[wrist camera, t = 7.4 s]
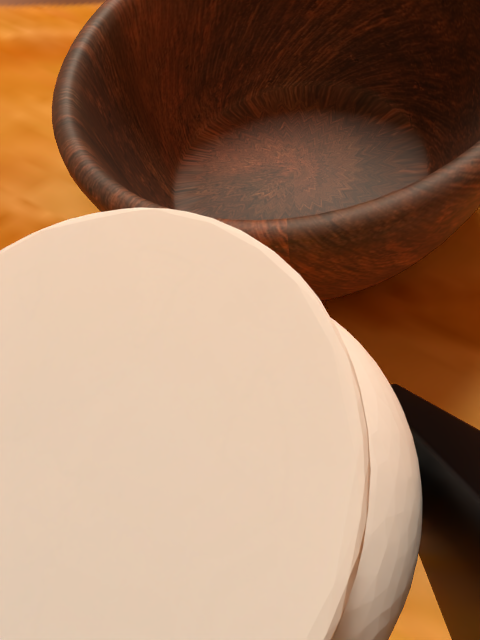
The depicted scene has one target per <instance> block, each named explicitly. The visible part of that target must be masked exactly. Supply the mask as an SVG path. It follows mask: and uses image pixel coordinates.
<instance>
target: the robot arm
mask: <svg viewBox="0 0 480 640" xmlns="http://www.w3.org/2000/svg"><path fill="white" fill-rule="evenodd" d="M390 385H391V387H392V389H393V391H394V393H395V394H396V396H397V398H398V401H399V403H400V405H401V407H402V409H403V411H404V414H405V417H406V420H407V422H408V425H409V428H410V431H411V434H412V436H413V441H414V445H415V449H416V453H417V457H418V462H419V470H420V478H421V486H422V530H421V541H420V546H419V552H418V553H419V556H420V558H421V561H422V564H423V566H424V569H425V571H426V574H427V577H428V579H429V582H430V584H431V587H432V589H433V592H434V595H435V597H436V600H437V602H438V605H439V608H440V610H441V613H442V615H443V618H444V620H445V623H446V626H447V628H448V631H449V633H450V636H451V639H452V640H480V430H478V429H476V428H475V427H473V426H471V425H469V424H467V423H466V422H464V421H462V420H460V419H458V418H457V417H455V416H453V415H451V414H449V413H448V412H446V411H444V410H442V409H440V408H439V407H437V406H435V405H433V404H431V403H430V402H428V401H426V400H424V399H422V398H421V397H419V396H417V395H415V394H414V393H412V392H410V391H408V390H406V389H405V388H403V387H401V386H399V385H397V384H390Z"/></svg>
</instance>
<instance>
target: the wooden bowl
mask: <svg viewBox="0 0 480 640" xmlns="http://www.w3.org/2000/svg"><path fill="white" fill-rule="evenodd" d="M52 124H53V130H54V136H55V139H56V143H57V146H58V149H59V152H60V154H61V157H62V159H63V161H64V163H65V165H66V167H67V169H68V171H69V173H70V175H71V177H72V178H73V180H74V181H75V182H76V184H77V185H78V187H79V188H80V189H81V191H82V192H83V193H84V194H85V195H86V196H87V197H88V198H89V199H90V200H91V202H92V203H93V204H94V205H95V206H96V207H97V208H98V209H99V210H100V211H101V212H105V211H112V210H118V209H128V208H165V209H173V210H180V211H186V212H191V213H194V214H198V215H202V216H206V217H210V218H213V219H216V220H218V221H220V222H223V223H225V224H227V225H230V226H232V227H234V228H237V229H239V230H241V231H243V232H245V233H246V234H248V235H249V236H251V237H253V238H254V239H256V240H257V241H259V242H261V243H262V244H264V245H265V246H267V247H268V248H270V249H271V250H273V251H274V252H275V253H276V254H278V255H279V256H280V257H281V258H282V259H283V260H284V261H285V262H286V263H287V264H288V265H290V266H291V267H292V268H293V269H294V270H295V271H296V272H297V273H298V274H299V275H301V277H302V278H303V279H304V280H305V282H306V283H307V284H308V285H309V287H310V288H311V289H312V290H313V292H314V293H315V294H316V295H317V296H318V298H319V299H320V301H323V300H328V299H333V298H337V297H341V296H344V295H348V294H351V293H355V292H358V291H361V290H363V289H366V288H368V287H371V286H374V285H376V284H379V283H381V282H383V281H385V280H387V279H389V278H391V277H393V276H395V275H397V274H399V273H400V272H402V271H404V270H405V269H407V268H409V267H410V266H412V265H413V264H415V263H416V262H418V261H419V260H421V259H422V258H423V257H425V256H426V255H428V254H429V253H430V252H431V251H433V250H434V249H435V248H437V247H438V246H439V245H441V244H442V243H443V242H444V241H445V240H446V239H447V238H448V237H450V236H451V235H452V234H453V233H454V232H455V231H456V230H457V229H458V228H459V227H460V226H461V225H462V224H463V223H464V222H465V221H466V220H467V219H468V218H469V217H470V216H471V215H472V214H473V213H474V212H475V211H476V210H477V208H478V207H479V206H480V0H106V1H105V2H104V3H103V4H102V5H101V6H100V7H99V8H98V10H97V11H96V12H95V13H94V14H93V15H92V16H91V18H90V19H89V20H88V21H87V23H86V24H85V26H84V27H83V28H82V30H81V31H80V32H79V34H78V36H77V37H76V39H75V40H74V42H73V44H72V45H71V47H70V49H69V51H68V53H67V55H66V57H65V59H64V61H63V64H62V66H61V69H60V72H59V74H58V77H57V81H56V85H55V89H54V94H53V103H52Z"/></svg>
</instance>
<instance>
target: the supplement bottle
mask: <svg viewBox="0 0 480 640" xmlns="http://www.w3.org/2000/svg"><path fill="white" fill-rule="evenodd" d="M421 530H422V486H421V478H420V470H419V462H418V457H417V453H416V449H415V445H414V441H413V436H412V434H411V431H410V428H409V425H408V422H407V420H406V417H405V414H404V411H403V409H402V407H401V405H400V403H399V401H398V398H397V396H396V394H395V393H394V391H393V389H392V387H391V385H390V384H389V382H388V380H387V379H386V377H385V375H384V374H383V372H382V371H381V369H380V368H379V366H378V365H377V363H376V362H375V361H374V359H373V358H372V357H371V356H370V355H369V354H368V352H367V351H366V350H365V349H364V348H363V346H362V345H361V344H360V343H359V342H358V341H357V340H356V339H355V338H354V337H353V336H352V335H351V334H350V333H349V332H348V331H347V330H346V329H344V328H343V327H342V326H341V325H340V324H338V323H337V322H336V321H335V320H333V319H332V318H330V316H329V314H328V313H327V311H326V309H325V308H324V306H323V304H322V302H321V301H320V299H319V298H318V296H317V295H316V294H315V293H314V292H313V290H312V289H311V288H310V287H309V285H308V284H307V283H306V282H305V280H304V279H303V278H302V277H301V275H299V274H298V273H297V272H296V271H295V270H294V269H293V268H292V267H291V266H290V265H288V264H287V263H286V262H285V261H284V260H283V259H282V258H281V257H280V256H279V255H278V254H276V253H275V252H274V251H273V250H271V249H270V248H268V247H267V246H265V245H264V244H262V243H261V242H259V241H257V240H256V239H254V238H253V237H251V236H249V235H248V234H246V233H245V232H243V231H241V230H239V229H237V228H234V227H232V226H230V225H227V224H225V223H223V222H220V221H218V220H216V219H213V218H210V217H206V216H202V215H198V214H194V213H191V212H186V211H180V210H173V209H165V208H128V209H118V210H112V211H105V212H98V213H93V214H89V215H85V216H81V217H77V218H72V219H68V220H65V221H63V222H60V223H57V224H55V225H52V226H49V227H47V228H44V229H42V230H39V231H37V232H35V233H32V234H30V235H28V236H26V237H24V238H22V239H21V240H19V241H17V242H15V243H13V244H11V245H9V246H7V247H6V248H4V249H2V250H1V251H0V640H388V639H389V637H390V635H391V633H392V631H393V628H394V626H395V624H396V622H397V620H398V618H399V616H400V613H401V611H402V609H403V607H404V604H405V601H406V598H407V596H408V593H409V590H410V587H411V583H412V579H413V575H414V571H415V567H416V562H417V558H418V552H419V546H420V541H421Z"/></svg>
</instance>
